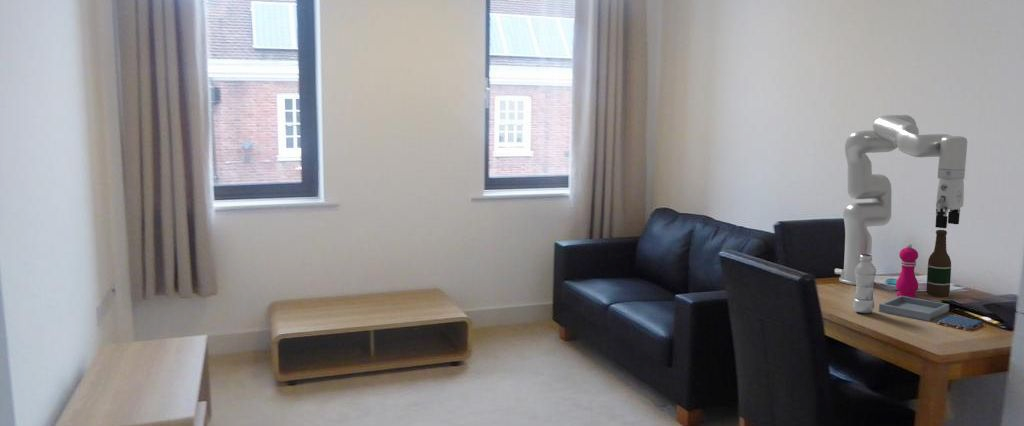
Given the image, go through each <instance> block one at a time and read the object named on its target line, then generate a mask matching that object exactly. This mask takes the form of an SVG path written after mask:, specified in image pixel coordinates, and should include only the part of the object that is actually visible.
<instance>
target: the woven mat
mask: <svg viewBox="0 0 1024 426" xmlns="http://www.w3.org/2000/svg"><path fill="white" fill-rule="evenodd" d="M935 321H936V322H935V323H936V325H937V326H938V325H939V326H944V327H949V328H952V329H957V330H963V331H967V332H971V331H973V330H976V329H978V328H980V327H981V326H983V325H984V324H985V323H984V321H983V320H979V319H975V318H974V319H973V318H969V317H964V316H960V315H959V316H958V315H954V314H951V315H950V314H947V315H945V316H943V317H940V318H938V319H936V320H935Z"/></svg>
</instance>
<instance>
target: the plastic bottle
mask: <svg viewBox="0 0 1024 426" xmlns="http://www.w3.org/2000/svg"><path fill="white" fill-rule="evenodd" d="M872 261H873V255H872V254H871V255H870V254H861V255H860V263H859V264H858V265H857V266H856V269H855V276H856V285H855V292H854V299H853V303H852V306H853V308H852V309H853V310H854V311H855V312H856V313H861V314H870V313H872V312H873V311H874V309H875V301H874V300H875V299H874V286H875V277H876V274H877V269H876V267H875V265H874V264H873V262H872Z"/></svg>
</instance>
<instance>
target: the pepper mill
mask: <svg viewBox="0 0 1024 426" xmlns="http://www.w3.org/2000/svg"><path fill="white" fill-rule="evenodd" d="M912 247H913V245H912V243H907V244H906V247H904V248H902V249H901V250H900V251H899V258H900V259H901V260H900V265H901V271H900V275H899V277H898V278H897V280H896V281H895V282H896V283H895V287H896V289H897V291H896V297H898V296H906V297H911V298H917V293H916V292H917V291H918V290H919V283H918V279H917V277H916V274H915V267H916V266H917V260H918V258H919V252H918V251H917V250H916V249H915V248H912Z"/></svg>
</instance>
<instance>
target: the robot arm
mask: <svg viewBox="0 0 1024 426" xmlns="http://www.w3.org/2000/svg"><path fill="white" fill-rule="evenodd" d="M919 133H920V130H919V128H918V126H917V123H916V120H915V119H914V118H913V117H912V116H911V115H909V114H908V115H907V114H895V115H894V114H890V115H889V114H888V115H883V116H880V117H878V118H876V119H875V120H874V122H873V123H872V130H871V129H870V130H859V131H855V132H853V133H850V134H849V135H848V137H847V138H846V140H845V143H844V153H845V158H846V161H847V162H846V163H847V194H848V196H849V197H850V198H851V199H854V200H868V199H869V200H872V201H869V202H865V201H864V202H855V203H851V204H848V205H846V206H845V208H844V209H843V212H842V213H843V214H842V217H843V222H844V235H845V236H844V257H843V258H844V259H843V260H844V261H843V269H841V268H834V275H835V274H836V275H840V276H839V278H838V279H839V282H841V283H843V284H847V285H851V286H856V276H855V269H856V266H857V265H858V264H859V263H860V255H861V254H870V255H872V249H873V248H872V247H873V246H872V245H873V240H872V239H873V238H872V235H871V233H870V232H869V230H868V228H870V227H871V228H872V227H882V226H883V227H884V226H885V225H887V224H888V223H889V222H890V221H891V218H892V196H893V195H892V193H893V192H892V185H891V181H890V180H889V178H888V177H887V176H886V175H884V174H881V173H878V174H877V173H876V174H873V172H872V171H873V170H872V169H873V165H872V161H871V159H870V158H869V156H868V155H867V154H868V153H869V154H871V153H873V154H874V153H890V152H893V151H894V150H896V149H897V148H898V150H899V151H900V152H901V153H903V154H906V155H908V156H911V157H914V158H936V157H938V166H937V167H938V169H937V179H938V185H937V187H938V188H937V191H936V193H937V194H936V203H935V206H936V209H935V228H939V229H947V227H948V224H951V225H959V224H960V215H961V213H960V212H961V209H962V208H963V207H964V199H965V198H964V195H965V193H964V192H965V191H964V190H965V189H964V187H965V185H964V184H965V183H964V180H965V175H966V164H967V163H966V161H967V149H968V139H967V138H966V137H965V136H962V135H951V134H948V133H934V134H933V133H931V134H930V133H929V134H919ZM947 214H948V216H947Z"/></svg>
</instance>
